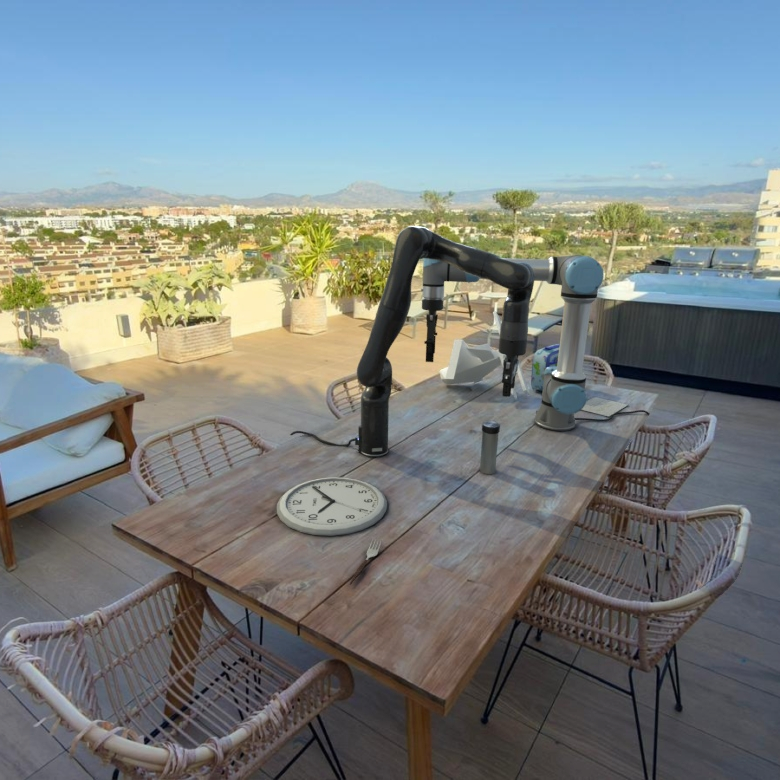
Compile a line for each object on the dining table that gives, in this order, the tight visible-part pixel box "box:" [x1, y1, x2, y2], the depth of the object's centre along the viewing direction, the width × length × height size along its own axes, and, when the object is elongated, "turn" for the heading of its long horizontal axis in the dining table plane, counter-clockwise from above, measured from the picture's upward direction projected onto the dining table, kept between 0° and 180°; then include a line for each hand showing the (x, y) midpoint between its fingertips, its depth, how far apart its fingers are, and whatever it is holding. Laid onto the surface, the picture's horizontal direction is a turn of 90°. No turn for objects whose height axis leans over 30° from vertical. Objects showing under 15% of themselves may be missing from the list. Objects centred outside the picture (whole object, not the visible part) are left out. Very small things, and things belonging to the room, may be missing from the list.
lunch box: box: [530, 343, 560, 392], centre depth 248 cm, size 26×11×21 cm, turn 134°
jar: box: [479, 431, 500, 475], centre depth 162 cm, size 5×5×15 cm
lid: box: [481, 420, 501, 434], centre depth 160 cm, size 5×5×2 cm
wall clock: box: [276, 476, 388, 537], centre depth 142 cm, size 30×2×30 cm
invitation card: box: [580, 396, 629, 418], centre depth 226 cm, size 21×1×15 cm
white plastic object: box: [438, 310, 531, 400], centre depth 245 cm, size 37×45×31 cm
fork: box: [349, 538, 383, 585], centre depth 117 cm, size 3×16×2 cm, turn 160°
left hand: (508, 392), depth 150 cm, fingers open, 8 cm apart
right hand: (430, 357), depth 190 cm, fingers open, 13 cm apart
